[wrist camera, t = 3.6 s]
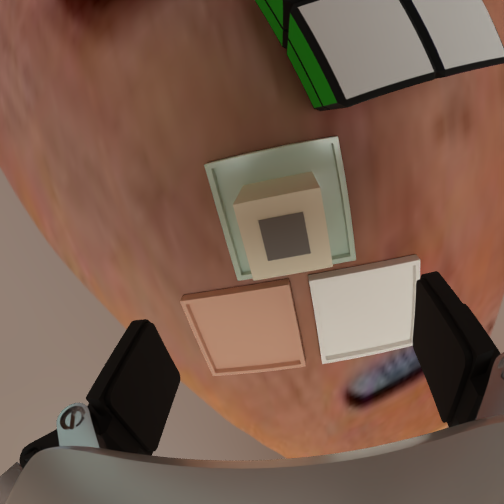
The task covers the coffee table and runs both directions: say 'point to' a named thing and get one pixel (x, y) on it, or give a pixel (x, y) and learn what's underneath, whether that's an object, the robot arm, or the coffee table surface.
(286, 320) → the dish terracotta
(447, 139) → the coffee table surface
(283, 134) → the coffee table surface
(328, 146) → the dish sage
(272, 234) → the cream cube
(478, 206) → the coffee table surface
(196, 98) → the coffee table surface
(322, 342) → the dish offwhite
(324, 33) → the puzzle cube
